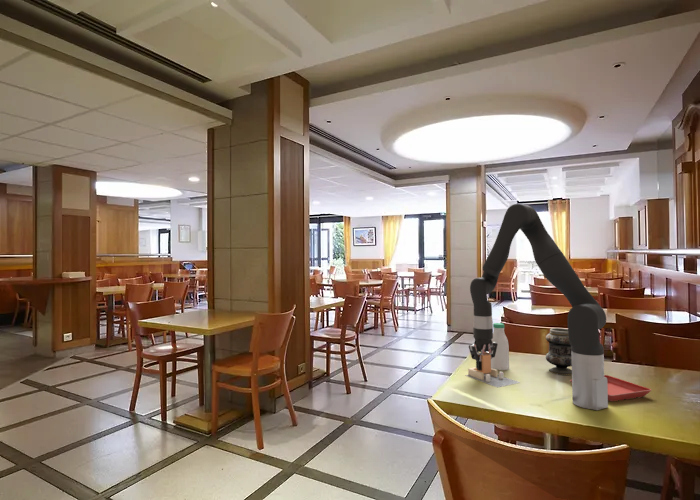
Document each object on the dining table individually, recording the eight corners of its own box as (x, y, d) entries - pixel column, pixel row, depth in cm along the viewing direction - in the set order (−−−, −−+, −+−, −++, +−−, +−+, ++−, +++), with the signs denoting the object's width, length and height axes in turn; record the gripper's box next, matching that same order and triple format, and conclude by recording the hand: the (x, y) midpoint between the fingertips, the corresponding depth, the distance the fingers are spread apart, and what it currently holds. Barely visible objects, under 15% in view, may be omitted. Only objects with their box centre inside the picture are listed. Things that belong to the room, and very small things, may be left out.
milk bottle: (512, 372, 168) (511, 325, 168) (493, 372, 168) (492, 325, 169) (505, 367, 176) (504, 322, 176) (487, 367, 176) (486, 322, 176)
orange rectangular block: (491, 372, 159) (490, 354, 159) (483, 373, 158) (483, 355, 158) (483, 369, 163) (483, 352, 163) (476, 371, 161) (475, 353, 161)
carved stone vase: (584, 376, 161) (583, 332, 162) (554, 376, 162) (553, 332, 162) (568, 368, 173) (567, 326, 174) (540, 368, 174) (539, 327, 174)
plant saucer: (611, 405, 131) (611, 394, 131) (568, 387, 149) (568, 379, 149) (653, 399, 136) (652, 389, 136) (606, 383, 154) (606, 374, 154)
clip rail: (520, 385, 151) (520, 375, 152) (497, 390, 146) (497, 380, 146) (486, 373, 167) (486, 365, 167) (465, 377, 161) (464, 369, 161)
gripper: (476, 329, 154) (477, 374, 154) (502, 326, 160) (503, 369, 160) (463, 326, 161) (463, 369, 160) (488, 323, 167) (489, 364, 167)
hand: (483, 368), depth 160 cm, fingers closed on orange rectangular block, 4 cm apart
